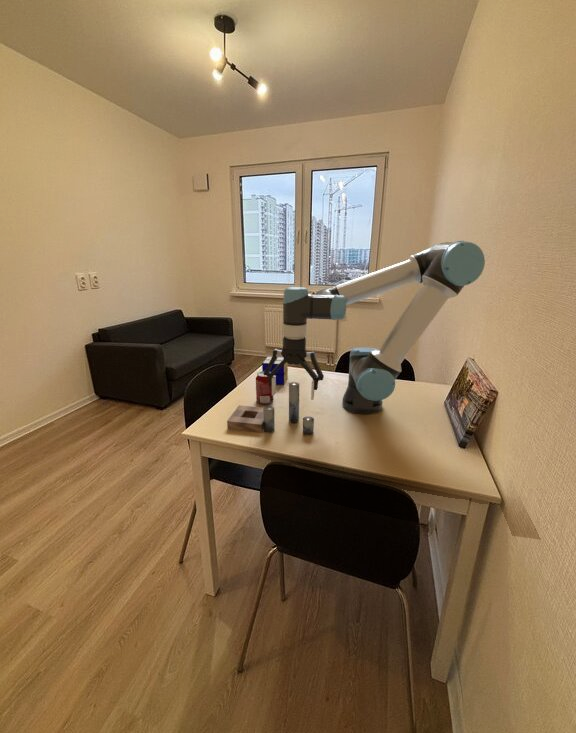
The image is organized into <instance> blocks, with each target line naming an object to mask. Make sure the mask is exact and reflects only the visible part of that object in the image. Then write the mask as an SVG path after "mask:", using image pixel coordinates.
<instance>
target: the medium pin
mask: <svg viewBox="0 0 576 733" xmlns="http://www.w3.org/2000/svg"><path fill="white" fill-rule="evenodd" d="M263 416H264V429H263V432H265V433H268V434H272V433H274V432H275V429H276V428H275V426H276V425H275V406H274V407H273V406H272V405H267V406H265V407H263Z"/></svg>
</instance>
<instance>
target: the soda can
mask: <svg viewBox="0 0 576 733" xmlns="http://www.w3.org/2000/svg"><path fill="white" fill-rule="evenodd" d="M255 392H256V393H255V395H256V396H255V397H256V402H257V403H259V404H260V405H269V404H271V403H273V401H274V396H272V386H269V377H268V376H265V375H264V371H258V372H257V373H256V376H255Z"/></svg>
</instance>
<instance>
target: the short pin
mask: <svg viewBox="0 0 576 733" xmlns="http://www.w3.org/2000/svg"><path fill="white" fill-rule="evenodd" d="M314 422H315V418H314V417H312V416H304V417H303V418H302V434H303V435H304V436H312V435H313V434H314V427H315V423H314Z"/></svg>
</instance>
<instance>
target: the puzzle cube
mask: <svg viewBox="0 0 576 733" xmlns="http://www.w3.org/2000/svg"><path fill="white" fill-rule="evenodd" d="M271 358H272V356H267V357H266V358H265V359H264V360H263V362H262V363H261V365H262V366H261V370H262V371H265V370H266V368H267V366H268V364H269V362H270V360H271ZM283 359H284V358H283V356H281V357H280V356H277V358H276V359H275V361H274V363H273V365H272V367H271V369H270V370H269V372H272V371H273V370H274V369H275V368H276V366H277V365H278V364H279V363H280V362H281V361H282V360H283ZM288 365H289V363H287V362H286V363H285V364H284V365H283V366H282V367H281V368H280V369H279V370H278V371H277V372H276V373H275V374H274V375H273V376H276V386H278V385H279V386H284V385H285V383H286V382H287V380H288V378H289V375H288V371H289V367H288Z"/></svg>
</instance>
